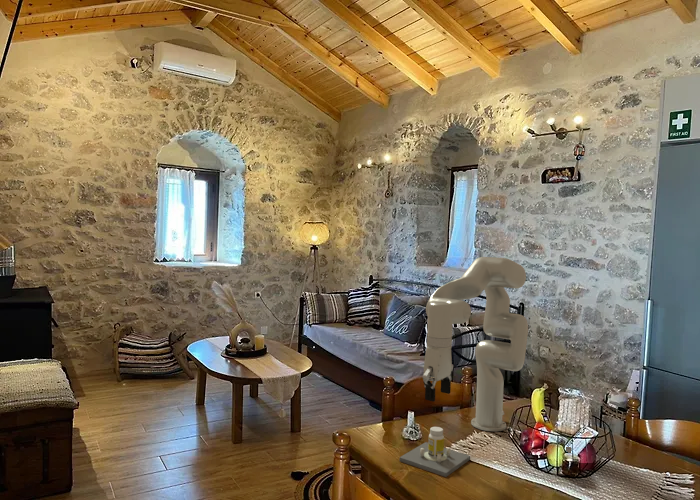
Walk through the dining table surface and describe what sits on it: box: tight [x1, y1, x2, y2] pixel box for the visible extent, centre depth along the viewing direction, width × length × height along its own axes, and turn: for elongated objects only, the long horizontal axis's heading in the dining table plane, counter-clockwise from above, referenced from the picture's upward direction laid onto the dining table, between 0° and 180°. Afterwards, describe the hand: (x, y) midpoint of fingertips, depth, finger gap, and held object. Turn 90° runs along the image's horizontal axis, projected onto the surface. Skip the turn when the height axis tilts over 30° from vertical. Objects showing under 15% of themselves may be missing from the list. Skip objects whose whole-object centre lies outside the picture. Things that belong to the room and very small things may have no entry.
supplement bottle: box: [427, 426, 445, 458], centre depth 166 cm, size 5×5×8 cm
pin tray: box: [399, 441, 471, 478], centre depth 166 cm, size 16×16×4 cm
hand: (437, 396), depth 165 cm, fingers open, 9 cm apart
